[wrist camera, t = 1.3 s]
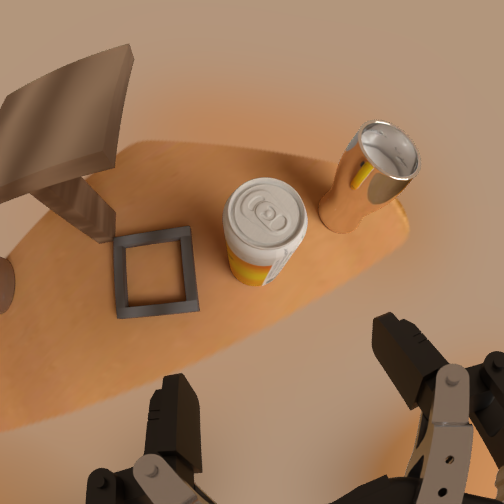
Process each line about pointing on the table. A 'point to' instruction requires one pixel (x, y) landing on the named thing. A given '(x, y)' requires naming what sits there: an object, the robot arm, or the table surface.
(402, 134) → the beer glass
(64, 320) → the table surface
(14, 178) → the overhang bracket
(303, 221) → the beer can
